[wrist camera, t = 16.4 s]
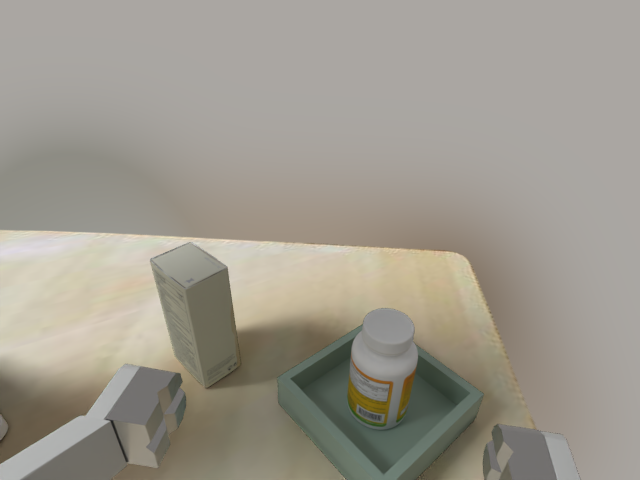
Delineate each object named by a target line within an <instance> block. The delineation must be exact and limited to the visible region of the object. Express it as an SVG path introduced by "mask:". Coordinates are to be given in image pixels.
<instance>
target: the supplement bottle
mask: <svg viewBox="0 0 640 480" xmlns="http://www.w3.org/2000/svg"><path fill="white" fill-rule="evenodd" d="M413 337H414V324H413V322H412V320H411V319H410V318H409V317H408V316H407V315H405V314H404V313H402V312H400V311H398V310H395V309H389V308H381V309H376V310H373V311H371V312H370V313H368V314H367V315H366V317H365V318H364V321H363V327H362V331H361V332H360V333H358V334H357V336H356V337H355V339H354V341H353V344H352V349H351V360H350V372H349V383H348V393H347V403H348V408H349V410H350V412H351V414H352V416H353V417H354V418H355V419H356V420H357V421H358V422H360V423H361V424H362V425H364V426H366V427H369V428H372V429H377V430H385V429H389V428H392V427H394V426H396V425H398V424H399V423H400V422H401V421H402V420H403V419H404V417H405V415H406V412H407V409H408V404H409V399H410V394H411V390H412V385H413V381H414V376H415V371H416V367H417V361H418V351H417V347H416V345H415V343H414V342H413Z"/></svg>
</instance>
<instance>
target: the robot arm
mask: <svg viewBox="0 0 640 480" xmlns="http://www.w3.org/2000/svg"><path fill="white" fill-rule="evenodd" d="M182 382H183V381H182V378H181V374H180V373H174V372H169V371H163V370H158V369H152V368H146V367H142V366H136V365H129V364H124V365H123V366H122V367H121V368H119V369H118V371H117V372H116V374H115V375H114V376H113V378H112V379H111V381H110V382H109V383H108V385H107V386H106V388H105V389H104V391H103V392H102V393H101V395H100V396H99V398H98V399H97V400H96V402H95V403H94V405H93V406H92V407H91V409H90V410H89V412H88V413H87V414H86V416H82V415H80V416H78V417H76V418H75V419H73V420H72V421H70V422H68V423H67V424H65V425H63V426H62V427H60V428H59V429H57V430H55V431H54V432H52V433H50V434H49V435H47V436H45V437H44V438H42V439H41V440H39V441H37V442H36V443H34V444H32V445H31V446H29V447H27V448H26V449H24V450H23V451H21V452H19V453H18V454H16V455H14V456H13V457H11V458H9V459H8V460H6V461H5V462H3V463H1V464H0V480H111V479H112V478H113V477H114V476H115V475H116V474H118V473H119V472H120V471H121V470H122V469H123V468H125V467H126V466H127V463H129V464H135V465H141V466H148V467H154V468H159V466H160V464H161V462H162V460H163V458H164V456H165V454H166V452H167V450H168V448H169V446H170V440H169V434H171V433H172V432H173V431H175V430H176V429H178V427H179V425H180V423H181V421H182V418H183V415H184V411H185V408H186V396H185V392H184V391H183V390H182V389H181V388H180V386H181V384H182ZM7 430H8V424H7V422H6V421H5V420H4V418H3V417H2V415H1V414H0V440H1V439H2V438H3V437H4V435H5V434H6V432H7ZM492 438H493V440H492V441H490V442H488V443H487V444H486V447H485V450H484V455H483V474H484V480H581V479H580V476H579V473H578V471H577V468H576V465H575V462H574V459H573V456H572V453H571V451H570V448H569V445H568V442H567V439H565V437H564V436H563V435H562V434H558V433H550V432H543V431H539V430H535V429H528V428H521V427H514V426H507V425H501V424H497V425H495V426H494V428H493V430H492Z"/></svg>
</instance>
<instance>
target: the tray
mask: <svg viewBox="0 0 640 480" xmlns="http://www.w3.org/2000/svg"><path fill="white" fill-rule="evenodd" d="M362 327H363V324H362V325H361V326H359V327H357V328H356V329H354V330H353V331H351V332H349V333H348V334H346V335H345V336H343V337H341V338H340V339H338V340H337V341H335V342H333V343H332V344H330V345H329V346H327V347H325V348H324V349H322V350H321V351H319V352H317V353H316V354H314V355H313V356H311V357H309V358H308V359H306V360H305V361H303V362H301V363H300V364H298V365H297V366H295V367H293V368H292V369H290V370H289V371H287V372H285V373H284V374H282V375H281V376H279V377H277V378H278V402H279V404H280V405H281V406H282V408H283V409H284V410H285V411H286V412H287V413H288V414H289V415H290V417H291V418H292V419H293V420H294V421H295V422H296V423H297V424H298V426H299V427H300V428H301V429H302V430H303V431H304V432H305V433H306V435H307V436H308V437H309V438H310V439H311V440H312V441H313V442H314V443H315V445H316V446H317V447H318V448H319V449H320V450H321V451H322V452H323V454H324V455H325V456H326V457H327V458H328V459H329V460H330V461H331V463H332V464H333V465H334V466H335V467H336V468H337V469H338V470H339V472H340V473H341V474H342V475H343V476H344V477H345V478H346V479H347V480H416V479H417V478H418V477H419V476H420V475H421V474H422V473H423V472H424V471H425V470H426V469H427V468H428V467H429V466H430V465H431V464H432V463H433V462H434V461H435V460H436V459H437V458H438V457H439V456H440V455H441V454H442V452H443V451H444V450H445V449H446V448H447V447H448V446H449V445H450V444H451V443H452V442H453V441H454V440H455V439H456V438H457V437H458V436H459V435H460V434H461V433H462V432H463V431H464V430H465V429H466V428H467V427H468V426H469V425H470V424H471V423H472V422H473V421H474V420H475V418H476V415H477V413H478V410H479V407H480V404H481V401H482V398H483V395H484V394H483V393H482V392H481V391H479V390H478V389H476V388H475V387H474V386H472V385H471V384H470V383H468V382H467V381H465V380H464V379H463V378H461V377H460V376H458V375H457V374H456V373H454V372H453V371H452V370H450V369H449V368H447V367H446V366H445V365H443V364H442V363H441V362H439V361H438V360H436V359H435V358H434V357H432V356H431V355H429V354H428V353H427V352H425V351H424V350H423V349H421V348H420V347H418V346H417V345H416V344H415V345H416V347H417V351H418V361H417V367H416V371H415V376H414V381H413V385H412V390H411V394H410V399H409V404H408V409H407V412H406V415H405V417H404V419H403V420H402V421H401V422H400V423H399V424H398V425H396V426H394V427H392V428H389V429H385V430H377V429H372V428H369V427H366V426H364V425H362V424H361V423H360V422H358V421H357V420H356V419H355V418H354V417H353V416H352V414H351V412H350V410H349V408H348V403H347V393H348V383H349V372H350V360H351V349H352V344H353V341H354V339H355V337H356V336H357V334H358V333H360V332H361V331H362Z"/></svg>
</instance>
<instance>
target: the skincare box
mask: <svg viewBox="0 0 640 480" xmlns="http://www.w3.org/2000/svg"><path fill="white" fill-rule="evenodd" d="M150 263H151V267H152V270H153V274H154V278H155V282H156V286H157V289H158V293H159V297H160V301H161V305H162V309H163V313H164V317H165V321H166V324H167V328H168V332H169V336H170V340H171V344H172V348H173V351H174V355H175V357H176V358H177V359H178V360H179V361H180V362H181V364H182V365H183V366H184V367H185V368H186V369H187V370H188V371H189V372H190V373H191V374H192V375H193V376H194V377H195V378H196V379H197V381H199V382H200V383H201V384H202V385H203V386H204V387H205V388H208V387H209V386H211V385H212V384H214V383H215V382H217V381H218V380H220V379H221V378H223V377H224V376H226V375H227V374H229V373H230V372H232V371H233V370H234V369H236V368H237V367H239V366H240V365H241V360H240V352H239V346H238V339H237V332H236V325H235V318H234V311H233V304H232V297H231V290H230V283H229V275H228V268H227V266H226V265H224V264H223V263H222V262H220V261H219V260H217V259H216V258H215V257H213V256H212V255H210V254H209V253H207V252H206V251H204V250H203V249H201V248H200V247H198V246H197V245H195V244H194V243H192V242H189V243H187V244H184V245H182V246H180V247H177V248H175V249H172V250H170V251H168V252H165V253H163V254H161V255H158V256H156V257H154V258H151V259H150Z"/></svg>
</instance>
